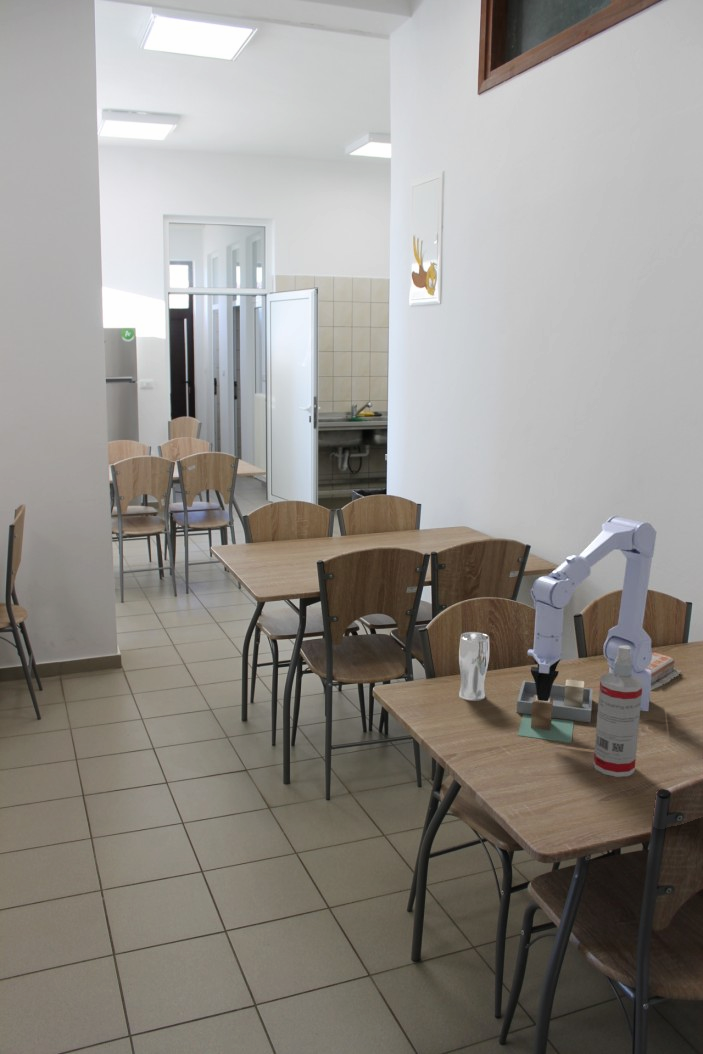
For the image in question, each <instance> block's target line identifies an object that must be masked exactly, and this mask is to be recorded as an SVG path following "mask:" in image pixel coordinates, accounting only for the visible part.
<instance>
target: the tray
mask: <svg viewBox="0 0 703 1054" xmlns="http://www.w3.org/2000/svg"><path fill="white" fill-rule="evenodd" d="M593 690H594V689H593V688H587V687H584V691H583V704H582V708H575V707H567V706H564V696H565V685H562V684H555V683H553V685H552V688H551V692H550V696H549V697H553V708H552V719H560V720H567V721H576V722H583V723H584V722H586V723H591V719H592V705H593V704H592V703H593ZM534 695H537V692H536V685H535V681H527V680H522V683H521V686H520V690H519V694H518V698H517V700H516V713H517V714H522V715H529V716H532V703H533V698H534Z"/></svg>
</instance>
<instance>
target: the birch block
mask: <svg viewBox="0 0 703 1054" xmlns="http://www.w3.org/2000/svg"><path fill="white" fill-rule="evenodd" d="M564 686H565V696H564V706H567V707H575V708H582V704H583V691H584V688H585V681H583V680H575V679H566V680H565V685H564Z"/></svg>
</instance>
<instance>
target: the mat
mask: <svg viewBox="0 0 703 1054" xmlns="http://www.w3.org/2000/svg"><path fill="white" fill-rule="evenodd" d="M531 718H532V715H530V714H522V717H521V721H520V725H519V728H518V729H519V730H518V732H517V737H525V738H530V739H531V738H532V739H540V740H546V741H552V742H553V741H555V742H561V743H568V744H572V741H573V739H572V738H573V731H574V721H575V720H568V719H560V718H552V722H551V727H550V730H543V729H536V728H531Z"/></svg>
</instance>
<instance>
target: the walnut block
mask: <svg viewBox="0 0 703 1054" xmlns="http://www.w3.org/2000/svg"><path fill="white" fill-rule="evenodd" d="M552 708H553V697H549V699H548V701H540V700H538V698H537V695H534V698H533V703H532V715H531V716H532V718H531V728H536V729H543V730H550V727H551V722H552V719H553V717H552Z"/></svg>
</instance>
